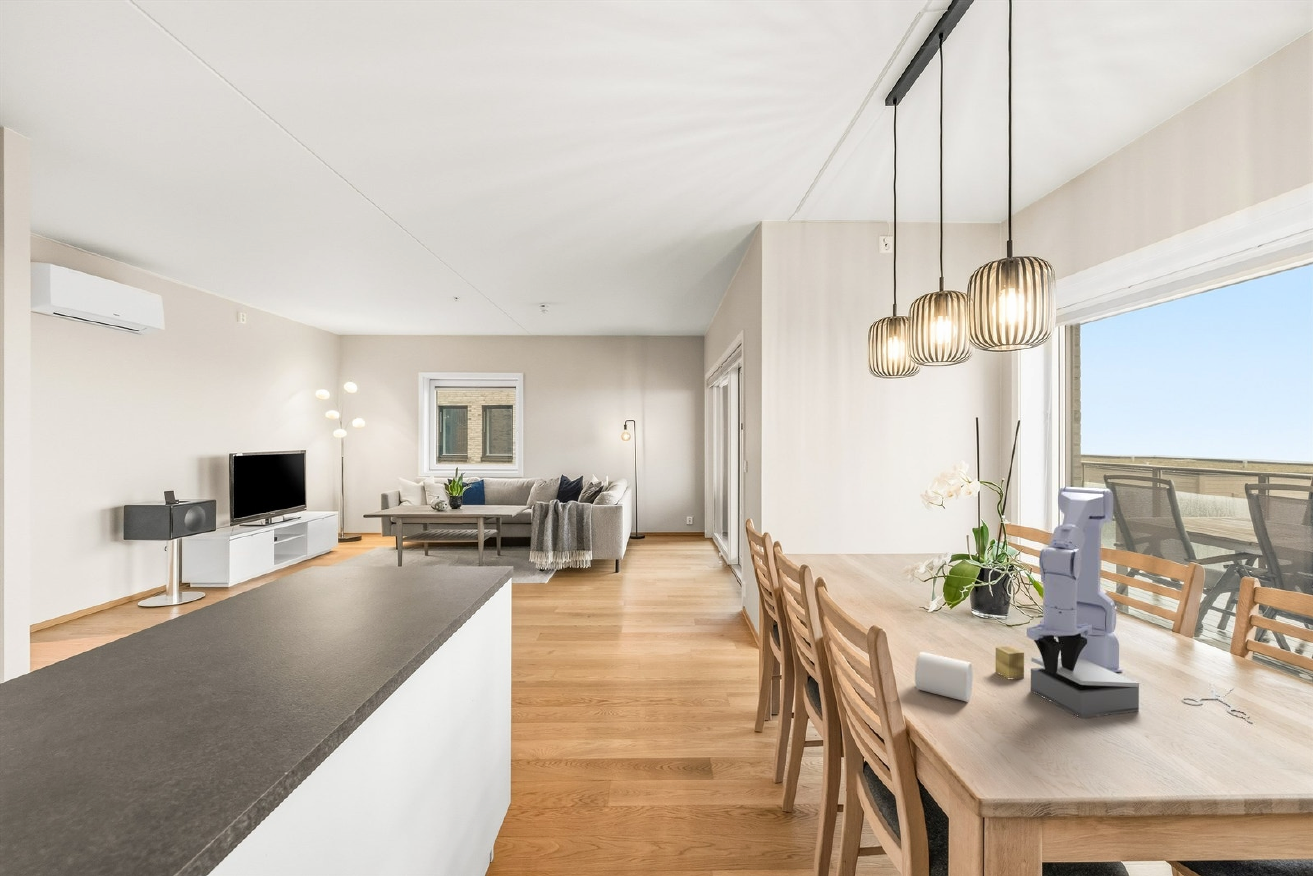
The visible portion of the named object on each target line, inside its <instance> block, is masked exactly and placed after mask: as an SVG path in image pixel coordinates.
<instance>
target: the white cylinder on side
mask: <svg viewBox="0 0 1313 876" xmlns="http://www.w3.org/2000/svg"><path fill="white" fill-rule="evenodd" d="M973 674H974V673H973V665H972V663H971V662H969V661H967V660H966V661H965V660H961V659H956V658H952V657H951V658H950V657H946V656H941V655H938V654H934V653H933V654H932V653H928V652H924V651H920V652H919V653H918V655H917V657H916V662H915V670H914V681H915V687H916V689H917V690H919V691H923V692H928V693H931V694H934V695H939V696H943V697H947V698H951V699H954V700H959V701H963V702H965V703H968V702H969V701H970V699H971V697H972V691H973V677H974V675H973Z"/></svg>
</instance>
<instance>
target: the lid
mask: <svg viewBox="0 0 1313 876" xmlns="http://www.w3.org/2000/svg"><path fill="white" fill-rule="evenodd" d="M1030 660H1031V662H1033V663H1035V664H1037V665H1039V666H1040V667H1045V666H1044V663H1043V659H1042V657H1032V656H1031V658H1030ZM1056 673H1058V674H1060V675H1062V676H1064V677H1066V678H1068V679H1070V680H1072V681H1074V682H1077V683H1079V684H1081V685H1099V686H1125V687H1139V688H1140V682H1137V681H1135V680H1133V679H1131V678H1128V677H1126V676H1125V675H1121V674H1118V672H1112V671H1110V670H1107V669H1105V668H1103V667H1100V666H1098V665H1096V664H1093V663H1091V662H1089V661H1086V660H1078V659H1077V662H1076V665H1075V668H1074V671H1070V670H1068V669H1066V668H1064V667H1062V664H1061V658H1058V668H1057V672H1056Z"/></svg>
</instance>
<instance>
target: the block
mask: <svg viewBox="0 0 1313 876" xmlns="http://www.w3.org/2000/svg"><path fill="white" fill-rule="evenodd" d="M996 672H997V673H996ZM995 673H996V674H998V673H1000V674H1002V675H1003V676H1004V678H1005V677H1006V678H1005V679H1007V678H1020V679H1025V652H1024V651H1022V650H1020V649H1017V648H1015V647H1013V646H1012V645H1011V646H1010V645H1006V646H995ZM1003 676H1002V677H1003Z"/></svg>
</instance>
